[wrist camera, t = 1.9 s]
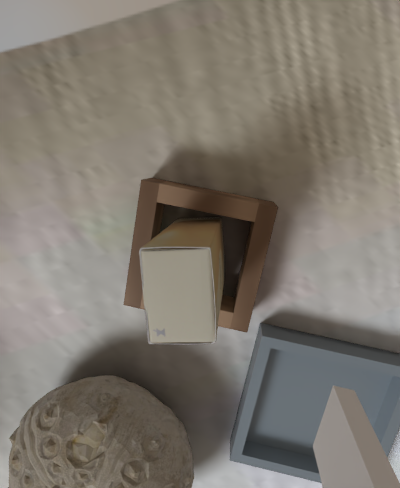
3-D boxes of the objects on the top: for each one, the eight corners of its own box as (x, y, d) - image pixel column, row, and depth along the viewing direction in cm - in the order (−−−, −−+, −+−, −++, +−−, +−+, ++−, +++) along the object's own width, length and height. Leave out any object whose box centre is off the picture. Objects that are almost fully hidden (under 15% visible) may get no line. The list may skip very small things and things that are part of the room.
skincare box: (225, 280, 32) (218, 350, 20) (180, 281, 33) (147, 350, 21) (222, 213, 31) (212, 245, 19) (174, 215, 31) (136, 248, 20)
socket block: (135, 290, 34) (123, 304, 30) (151, 177, 31) (141, 179, 27) (246, 314, 33) (247, 332, 29) (273, 202, 30) (278, 207, 27)
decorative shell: (21, 366, 37) (-55, 439, 28) (179, 345, 34) (156, 417, 25) (68, 498, 41) (16, 603, 31) (214, 488, 38) (206, 599, 29)
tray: (230, 440, 36) (229, 460, 34) (260, 322, 33) (262, 335, 30) (362, 472, 36) (371, 495, 33) (408, 355, 32) (422, 371, 30)
